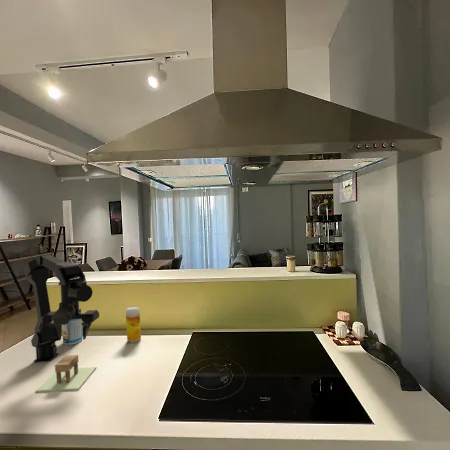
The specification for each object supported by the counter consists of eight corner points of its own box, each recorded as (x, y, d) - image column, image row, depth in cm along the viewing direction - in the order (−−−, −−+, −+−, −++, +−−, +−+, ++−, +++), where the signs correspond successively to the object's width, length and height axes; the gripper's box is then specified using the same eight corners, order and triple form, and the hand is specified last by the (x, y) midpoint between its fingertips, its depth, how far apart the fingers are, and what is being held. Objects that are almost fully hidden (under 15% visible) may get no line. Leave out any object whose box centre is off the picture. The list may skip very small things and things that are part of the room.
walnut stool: (66, 373, 108) (65, 355, 108) (79, 372, 108) (78, 354, 108) (56, 383, 101) (54, 365, 101) (69, 383, 101) (68, 364, 101)
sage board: (35, 392, 98) (35, 390, 98) (58, 370, 112) (58, 368, 112) (78, 390, 98) (78, 388, 98) (96, 368, 112) (96, 366, 112)
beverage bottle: (77, 345, 134) (74, 301, 134) (58, 345, 134) (56, 302, 134) (86, 337, 143) (84, 296, 142) (68, 338, 143) (66, 296, 142)
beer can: (137, 343, 133) (135, 310, 133) (124, 342, 134) (123, 309, 134) (143, 337, 139) (141, 306, 139) (131, 337, 140) (129, 305, 140)
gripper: (30, 305, 101) (32, 350, 102) (84, 303, 101) (87, 348, 102) (49, 296, 113) (51, 337, 113) (98, 294, 112) (100, 335, 113)
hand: (72, 339), depth 110 cm, fingers open, 9 cm apart
